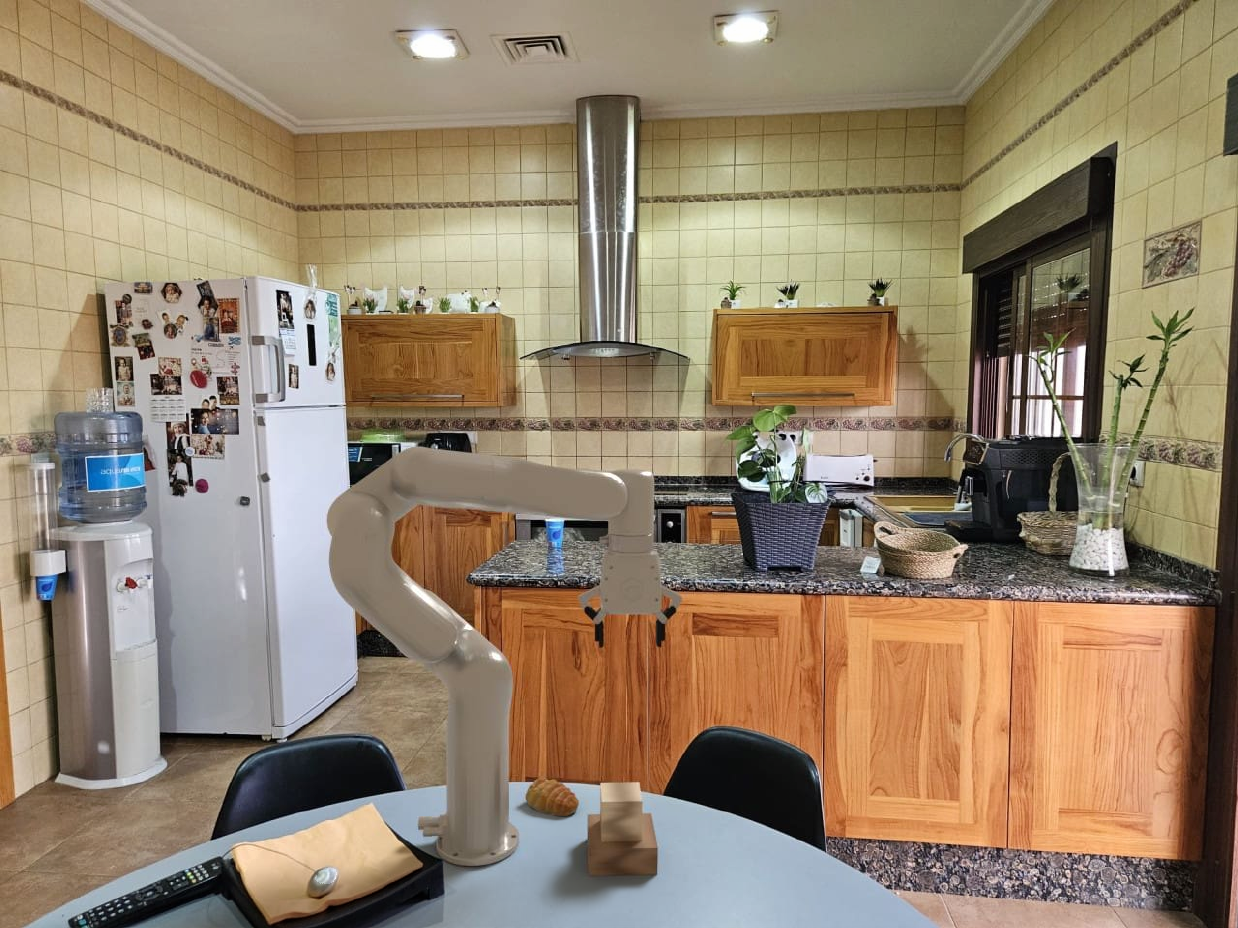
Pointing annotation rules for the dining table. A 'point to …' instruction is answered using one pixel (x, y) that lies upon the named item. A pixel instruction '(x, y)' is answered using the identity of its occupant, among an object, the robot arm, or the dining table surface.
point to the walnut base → (622, 851)
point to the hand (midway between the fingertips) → (629, 645)
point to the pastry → (551, 797)
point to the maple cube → (621, 811)
